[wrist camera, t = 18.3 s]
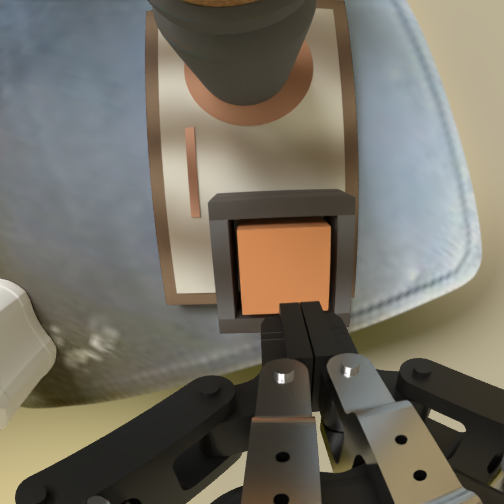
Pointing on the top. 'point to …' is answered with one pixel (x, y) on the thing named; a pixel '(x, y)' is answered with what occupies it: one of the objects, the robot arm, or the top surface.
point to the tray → (252, 167)
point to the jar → (20, 349)
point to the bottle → (237, 42)
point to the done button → (283, 262)
